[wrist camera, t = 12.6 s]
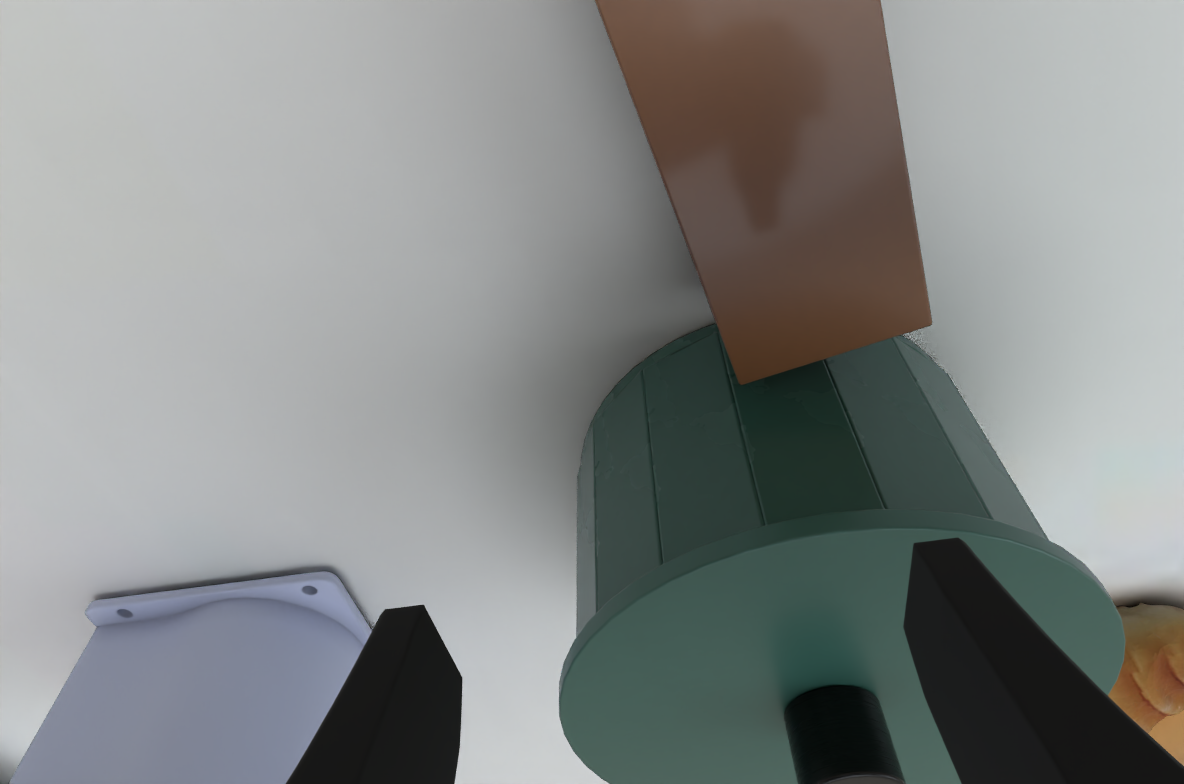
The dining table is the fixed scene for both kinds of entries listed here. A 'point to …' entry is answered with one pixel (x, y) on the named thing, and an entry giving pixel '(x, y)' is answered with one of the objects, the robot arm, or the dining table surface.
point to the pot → (771, 454)
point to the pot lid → (801, 653)
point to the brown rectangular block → (780, 169)
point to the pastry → (1151, 664)
